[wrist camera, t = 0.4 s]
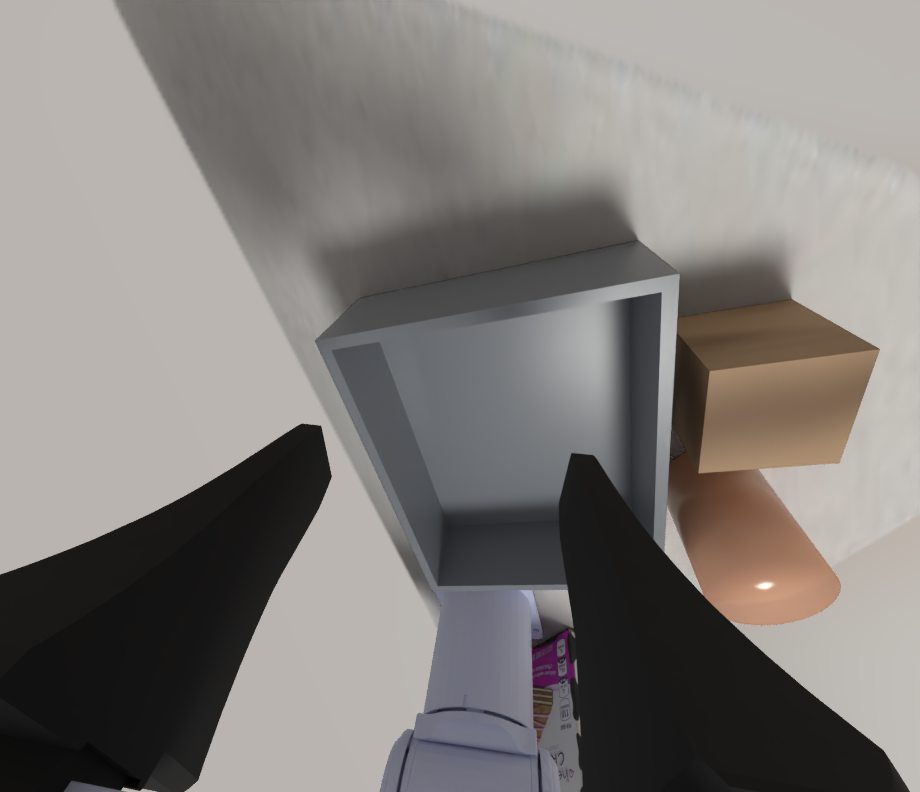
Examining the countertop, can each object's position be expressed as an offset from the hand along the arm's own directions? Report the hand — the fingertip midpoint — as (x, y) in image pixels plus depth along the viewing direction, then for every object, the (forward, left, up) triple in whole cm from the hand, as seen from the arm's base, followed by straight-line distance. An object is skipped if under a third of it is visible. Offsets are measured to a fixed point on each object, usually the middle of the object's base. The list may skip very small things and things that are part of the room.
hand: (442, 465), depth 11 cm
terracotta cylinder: (-12, -11, -10) cm, 19 cm away
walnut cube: (-4, -11, -10) cm, 15 cm away
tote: (-6, -1, -10) cm, 11 cm away
